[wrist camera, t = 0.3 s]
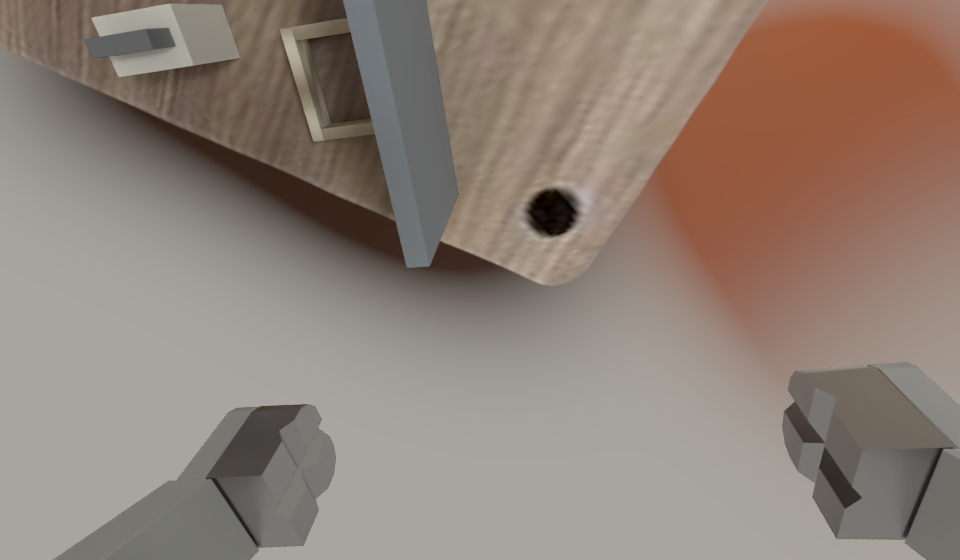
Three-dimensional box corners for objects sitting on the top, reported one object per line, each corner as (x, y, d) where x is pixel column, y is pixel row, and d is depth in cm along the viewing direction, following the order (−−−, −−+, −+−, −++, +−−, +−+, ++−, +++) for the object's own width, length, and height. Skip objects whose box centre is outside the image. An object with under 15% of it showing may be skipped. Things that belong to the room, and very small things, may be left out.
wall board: (387, -99, 43) (304, -161, 27) (408, -104, 43) (337, -168, 27) (441, 196, 56) (406, 267, 41) (458, 194, 56) (429, 266, 40)
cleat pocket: (292, 27, 49) (279, 29, 46) (407, 9, 47) (400, 9, 44) (324, 135, 54) (313, 141, 52) (428, 122, 52) (422, 128, 50)
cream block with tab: (152, 16, 50) (62, 18, 40) (221, 4, 49) (145, 3, 39) (173, 68, 52) (93, 81, 43) (240, 58, 51) (172, 68, 41)
